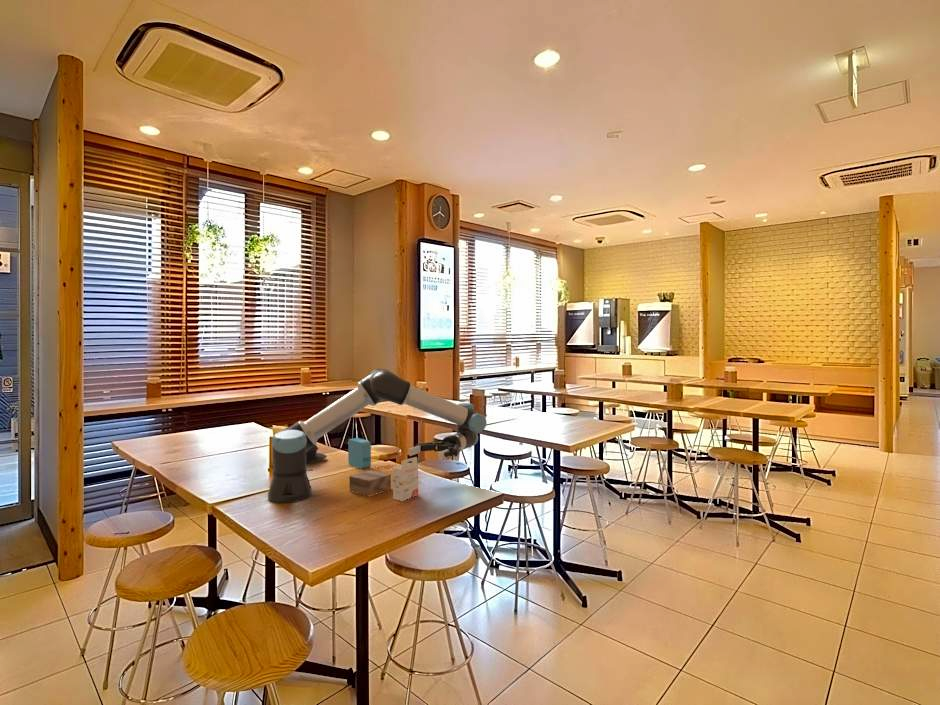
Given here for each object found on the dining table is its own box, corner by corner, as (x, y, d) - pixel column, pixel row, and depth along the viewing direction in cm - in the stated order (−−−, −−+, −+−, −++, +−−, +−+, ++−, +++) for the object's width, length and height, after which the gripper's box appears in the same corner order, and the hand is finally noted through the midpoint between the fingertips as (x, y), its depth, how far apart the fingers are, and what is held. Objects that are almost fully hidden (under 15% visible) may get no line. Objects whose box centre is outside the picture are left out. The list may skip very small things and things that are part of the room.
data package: (371, 467, 223) (371, 441, 223) (362, 469, 220) (362, 442, 220) (356, 462, 232) (356, 437, 232) (348, 464, 229) (348, 438, 229)
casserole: (280, 471, 217) (279, 452, 216) (264, 463, 230) (264, 445, 230) (333, 462, 233) (333, 444, 233) (316, 455, 247) (316, 438, 247)
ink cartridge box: (408, 493, 188) (408, 454, 187) (418, 495, 185) (418, 456, 184) (392, 499, 181) (392, 458, 180) (402, 502, 178) (402, 461, 177)
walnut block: (369, 497, 184) (369, 481, 183) (349, 491, 190) (349, 476, 190) (390, 489, 193) (390, 474, 192) (371, 484, 199) (371, 469, 199)
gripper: (479, 456, 204) (451, 468, 185) (429, 449, 216) (398, 460, 198) (479, 437, 203) (451, 448, 185) (429, 432, 216) (398, 441, 198)
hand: (423, 454), depth 191 cm, fingers open, 13 cm apart
